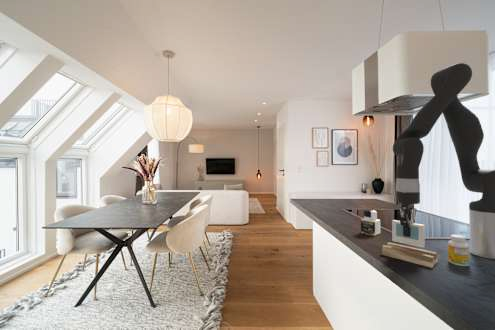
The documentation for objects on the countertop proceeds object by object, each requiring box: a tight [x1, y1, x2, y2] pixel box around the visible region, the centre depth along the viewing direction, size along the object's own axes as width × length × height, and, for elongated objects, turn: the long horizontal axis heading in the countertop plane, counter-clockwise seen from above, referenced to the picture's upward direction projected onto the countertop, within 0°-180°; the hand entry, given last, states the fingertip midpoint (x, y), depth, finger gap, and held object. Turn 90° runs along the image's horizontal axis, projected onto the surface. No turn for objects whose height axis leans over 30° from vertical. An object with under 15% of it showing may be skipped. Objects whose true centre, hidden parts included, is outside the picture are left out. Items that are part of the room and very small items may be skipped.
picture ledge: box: [381, 241, 439, 269], centre depth 88 cm, size 8×16×3 cm, turn 40°
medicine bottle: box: [360, 209, 381, 237], centre depth 120 cm, size 7×7×12 cm
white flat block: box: [391, 219, 426, 249], centre depth 88 cm, size 2×10×8 cm, turn 40°
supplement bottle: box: [447, 234, 470, 267], centre depth 83 cm, size 5×5×10 cm
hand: (407, 235), depth 88 cm, fingers closed on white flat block, 2 cm apart
